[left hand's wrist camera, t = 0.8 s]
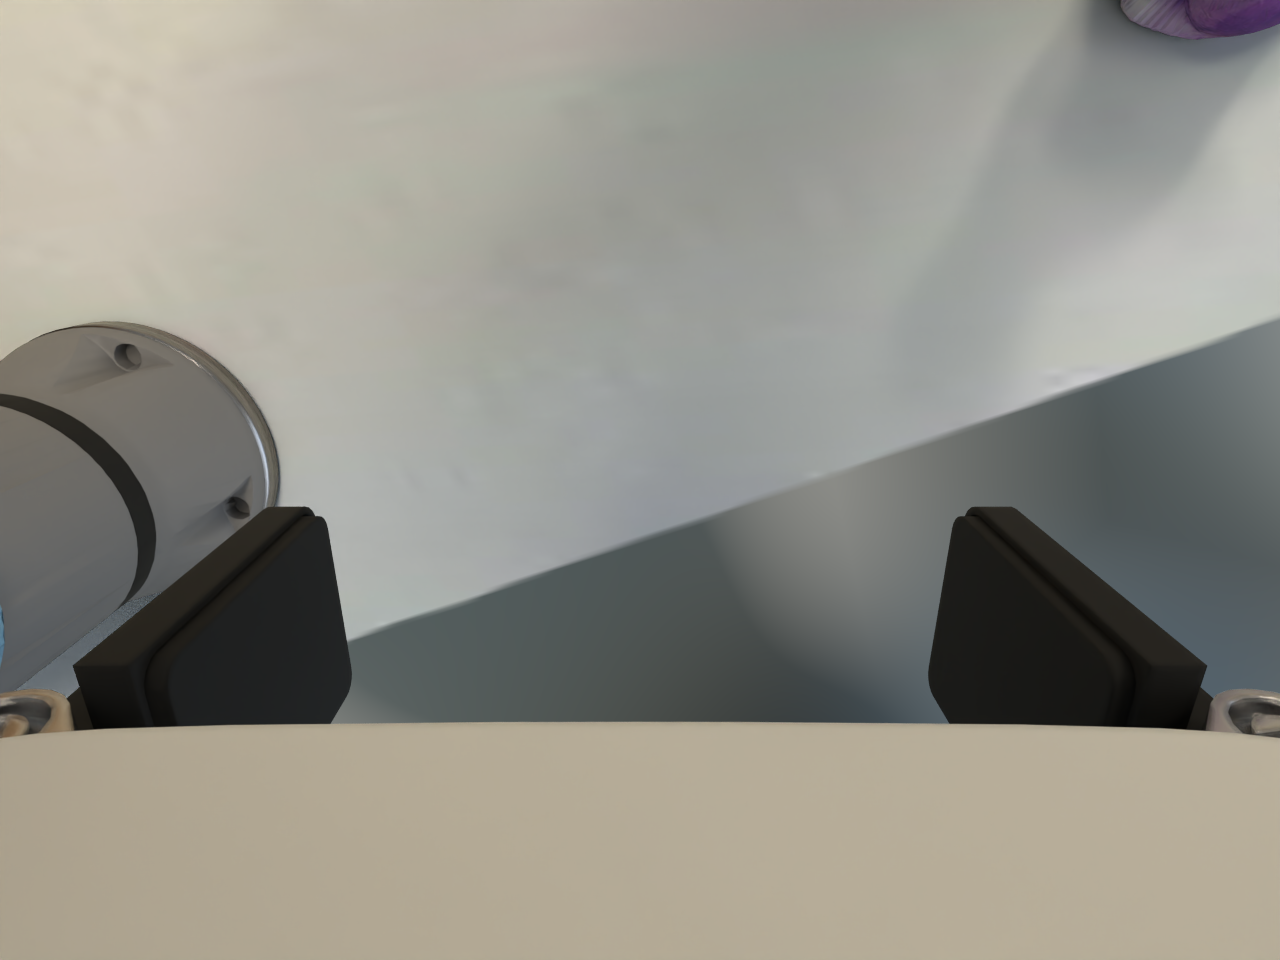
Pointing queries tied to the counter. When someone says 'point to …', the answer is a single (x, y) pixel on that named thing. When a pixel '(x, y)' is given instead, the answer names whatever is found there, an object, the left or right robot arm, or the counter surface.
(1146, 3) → the figurine
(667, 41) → the counter surface
